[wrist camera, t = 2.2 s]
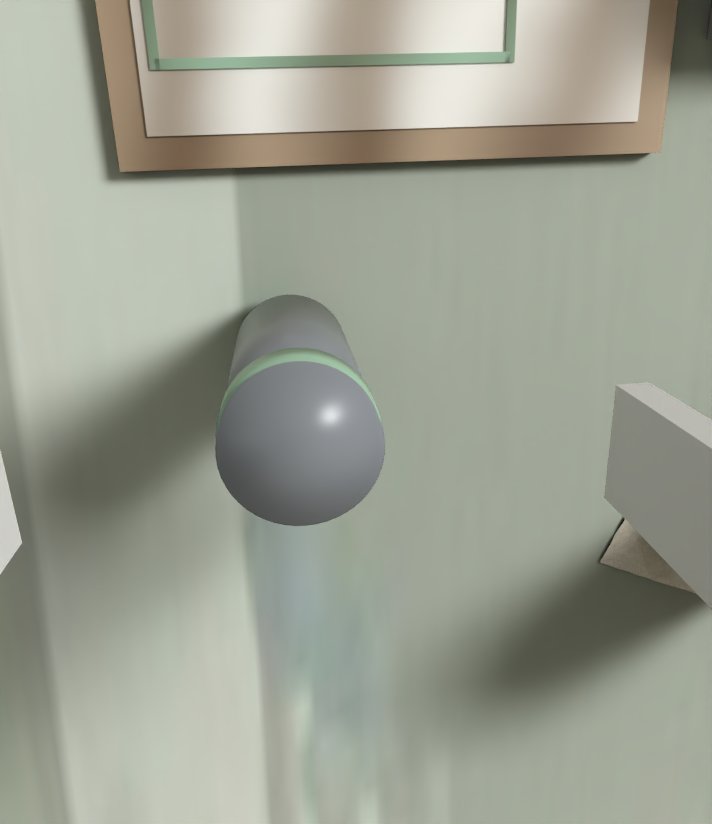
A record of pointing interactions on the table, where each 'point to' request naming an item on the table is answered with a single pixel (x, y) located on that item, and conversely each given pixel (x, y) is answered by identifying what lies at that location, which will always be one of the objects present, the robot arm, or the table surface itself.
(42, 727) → the table surface
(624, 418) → the robot arm
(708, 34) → the button box
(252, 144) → the framed board
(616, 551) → the condiment
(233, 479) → the marker
